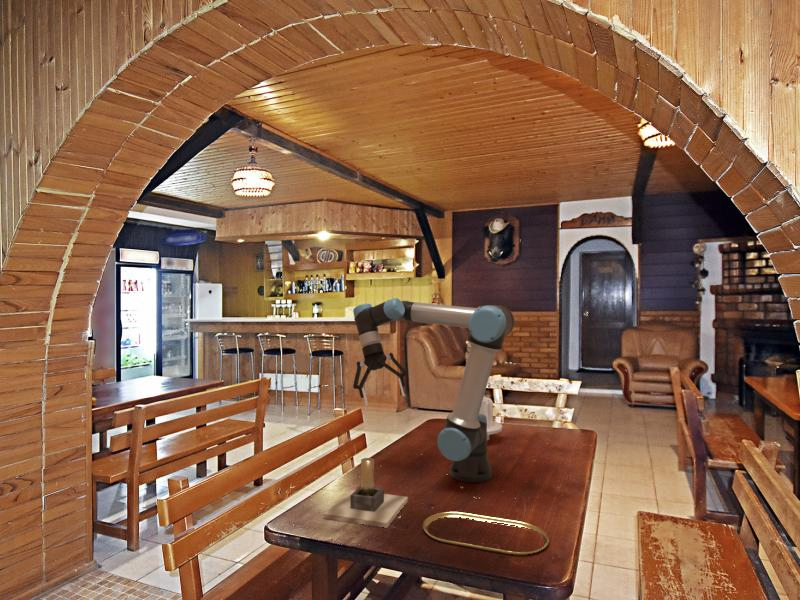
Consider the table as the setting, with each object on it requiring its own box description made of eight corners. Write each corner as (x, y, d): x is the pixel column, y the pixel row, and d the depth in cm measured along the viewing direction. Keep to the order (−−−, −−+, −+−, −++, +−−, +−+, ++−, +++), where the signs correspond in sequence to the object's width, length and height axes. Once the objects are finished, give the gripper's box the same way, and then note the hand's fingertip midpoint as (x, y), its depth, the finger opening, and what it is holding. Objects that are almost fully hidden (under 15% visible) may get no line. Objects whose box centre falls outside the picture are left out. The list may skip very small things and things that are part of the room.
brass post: (375, 503, 162) (375, 458, 162) (371, 508, 158) (371, 462, 158) (363, 501, 163) (363, 457, 163) (358, 506, 160) (359, 461, 159)
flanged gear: (513, 439, 237) (513, 398, 237) (479, 451, 220) (479, 407, 220) (470, 429, 255) (470, 391, 255) (436, 439, 238) (436, 398, 238)
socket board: (407, 501, 167) (407, 484, 167) (386, 528, 148) (386, 509, 148) (350, 494, 173) (350, 477, 173) (323, 518, 154) (323, 500, 154)
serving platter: (545, 564, 129) (545, 557, 129) (413, 540, 142) (413, 534, 142) (551, 531, 147) (551, 526, 147) (434, 513, 160) (434, 507, 160)
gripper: (404, 338, 196) (419, 392, 190) (340, 355, 195) (353, 410, 190) (403, 334, 188) (418, 391, 183) (337, 352, 188) (350, 409, 183)
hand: (385, 401), depth 187 cm, fingers open, 13 cm apart
